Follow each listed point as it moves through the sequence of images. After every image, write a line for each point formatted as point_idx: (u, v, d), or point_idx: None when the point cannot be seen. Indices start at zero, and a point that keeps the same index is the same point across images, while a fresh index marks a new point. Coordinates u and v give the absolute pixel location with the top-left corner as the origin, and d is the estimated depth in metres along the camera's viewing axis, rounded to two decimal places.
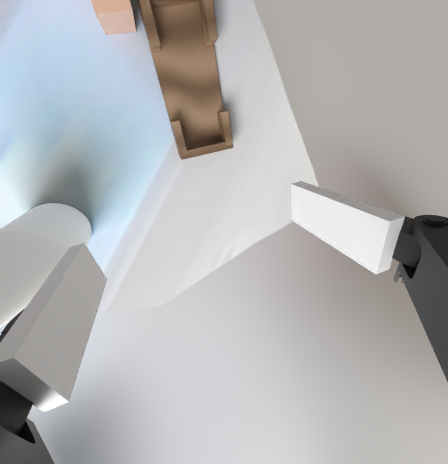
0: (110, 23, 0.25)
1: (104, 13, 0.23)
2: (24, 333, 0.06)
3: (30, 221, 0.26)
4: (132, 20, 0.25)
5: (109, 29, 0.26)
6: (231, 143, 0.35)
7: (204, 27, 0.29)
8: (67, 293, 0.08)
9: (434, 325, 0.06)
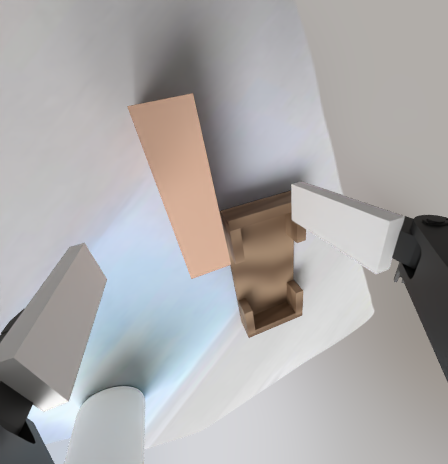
0: None
1: (200, 274, 0.19)
2: (24, 333, 0.06)
3: None
4: None
5: None
6: (301, 312, 0.32)
7: (289, 225, 0.25)
8: (67, 293, 0.08)
9: (434, 325, 0.06)
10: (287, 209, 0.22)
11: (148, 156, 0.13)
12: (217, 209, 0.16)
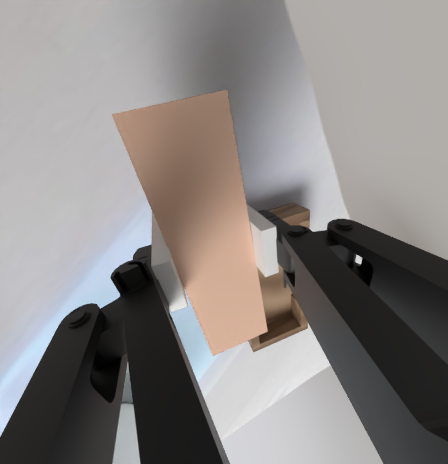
0: None
1: (226, 348, 0.13)
2: (165, 251, 0.09)
3: None
4: None
5: None
6: (306, 325, 0.31)
7: None
8: None
9: (319, 331, 0.07)
10: (289, 222, 0.22)
11: (150, 196, 0.08)
12: (254, 264, 0.11)
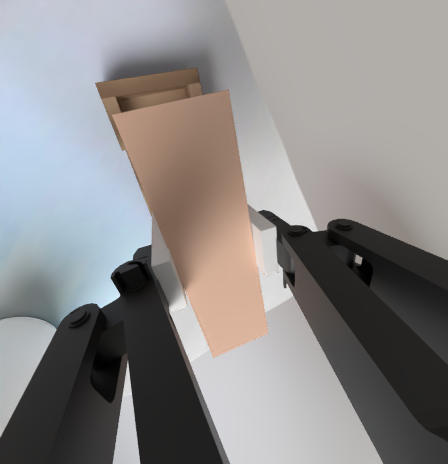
0: None
1: (226, 350, 0.13)
2: (165, 251, 0.09)
3: None
4: None
5: None
6: None
7: None
8: None
9: (319, 331, 0.07)
10: (173, 80, 0.19)
11: (151, 197, 0.08)
12: (255, 266, 0.11)
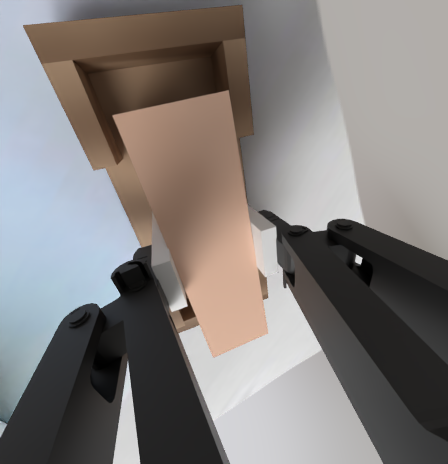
0: None
1: (226, 350, 0.13)
2: (165, 251, 0.09)
3: None
4: None
5: None
6: (265, 293, 0.19)
7: None
8: None
9: (319, 331, 0.07)
10: (195, 29, 0.10)
11: (151, 198, 0.08)
12: (255, 266, 0.11)
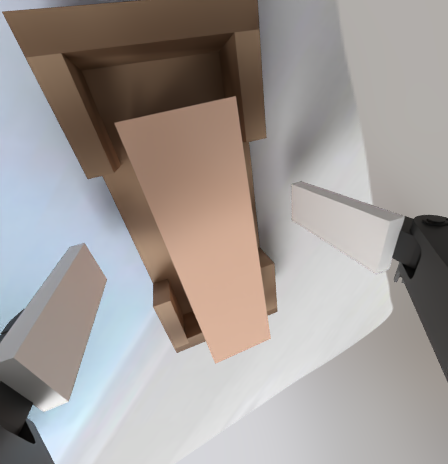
0: None
1: (228, 356, 0.13)
2: (24, 333, 0.06)
3: None
4: None
5: None
6: (274, 307, 0.18)
7: None
8: (67, 293, 0.08)
9: (434, 325, 0.06)
10: (202, 18, 0.08)
11: (154, 207, 0.08)
12: (259, 273, 0.11)
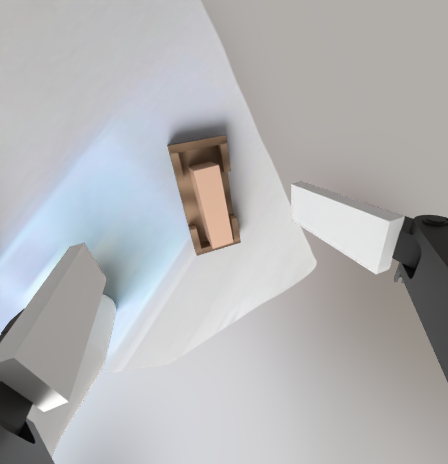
0: None
1: (217, 247, 0.37)
2: (24, 333, 0.06)
3: None
4: None
5: None
6: (239, 239, 0.41)
7: (219, 161, 0.36)
8: (67, 293, 0.08)
9: (434, 325, 0.06)
10: (211, 142, 0.32)
11: (199, 189, 0.31)
12: (227, 212, 0.34)
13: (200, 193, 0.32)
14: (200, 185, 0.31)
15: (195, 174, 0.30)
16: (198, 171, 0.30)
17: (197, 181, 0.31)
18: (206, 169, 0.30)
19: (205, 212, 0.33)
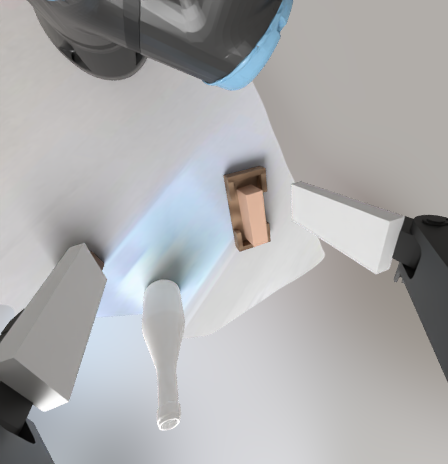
0: None
1: (257, 245, 0.51)
2: (24, 333, 0.06)
3: (164, 301, 0.47)
4: None
5: None
6: (269, 239, 0.56)
7: (258, 184, 0.50)
8: (67, 293, 0.08)
9: (434, 325, 0.06)
10: (255, 173, 0.46)
11: (248, 207, 0.46)
12: (265, 221, 0.49)
13: (249, 209, 0.46)
14: (249, 204, 0.45)
15: (247, 197, 0.44)
16: (249, 195, 0.44)
17: (247, 202, 0.45)
18: (254, 193, 0.45)
19: (251, 222, 0.48)
